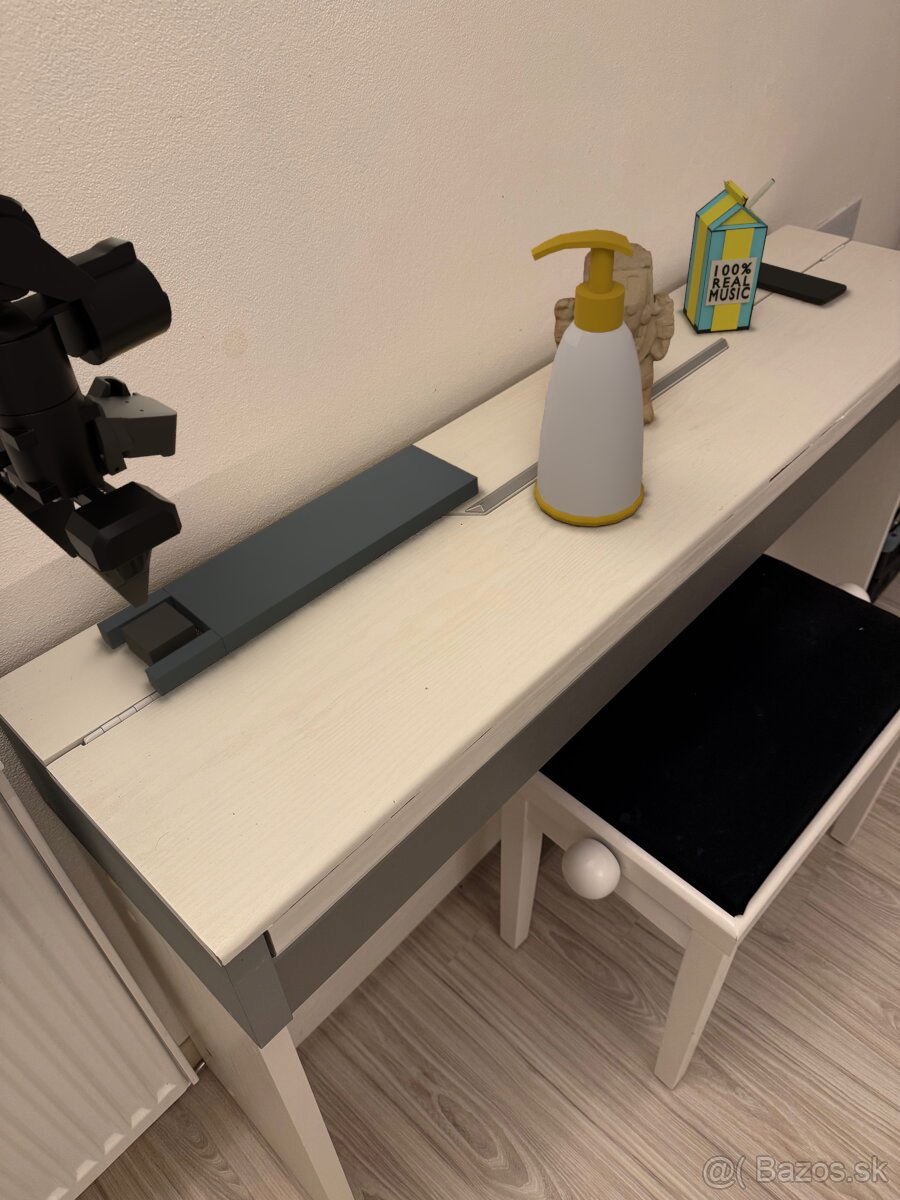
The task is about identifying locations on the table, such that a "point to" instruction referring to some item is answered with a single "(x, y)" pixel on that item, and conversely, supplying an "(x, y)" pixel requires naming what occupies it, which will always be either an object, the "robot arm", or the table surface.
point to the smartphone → (798, 284)
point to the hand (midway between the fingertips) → (108, 578)
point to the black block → (158, 633)
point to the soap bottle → (592, 398)
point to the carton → (725, 262)
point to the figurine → (633, 314)
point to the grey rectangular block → (298, 559)
